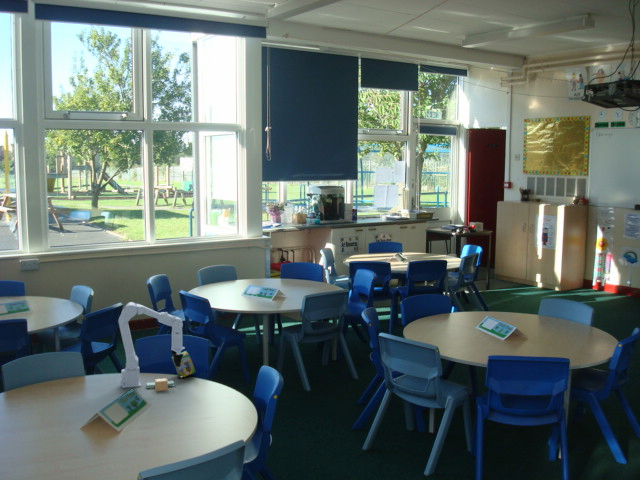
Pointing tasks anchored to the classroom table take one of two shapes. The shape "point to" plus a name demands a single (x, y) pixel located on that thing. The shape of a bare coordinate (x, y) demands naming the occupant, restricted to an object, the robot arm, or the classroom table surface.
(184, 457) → the classroom table surface
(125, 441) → the classroom table surface
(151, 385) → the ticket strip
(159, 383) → the stub
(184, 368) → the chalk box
